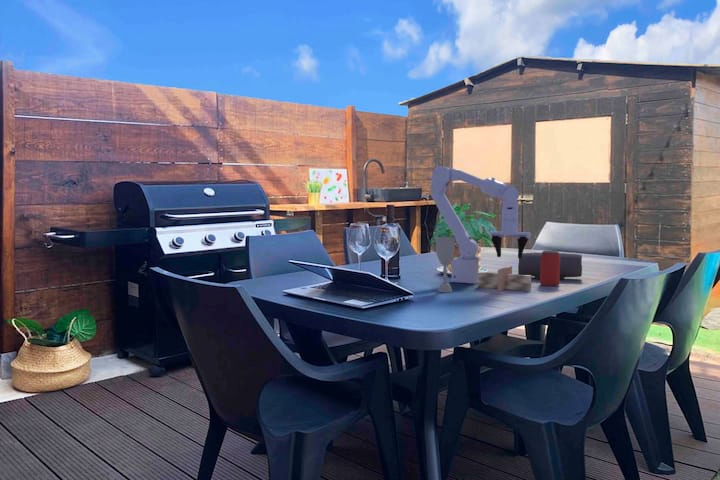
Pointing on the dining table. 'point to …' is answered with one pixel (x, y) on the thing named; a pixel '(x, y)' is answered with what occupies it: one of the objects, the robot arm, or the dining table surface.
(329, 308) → the dining table surface
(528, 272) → the bluetooth speaker
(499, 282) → the tan thin board
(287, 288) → the dining table surface
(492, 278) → the slotted rail
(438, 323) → the dining table surface
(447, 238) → the chalice
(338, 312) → the dining table surface
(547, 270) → the beer can
